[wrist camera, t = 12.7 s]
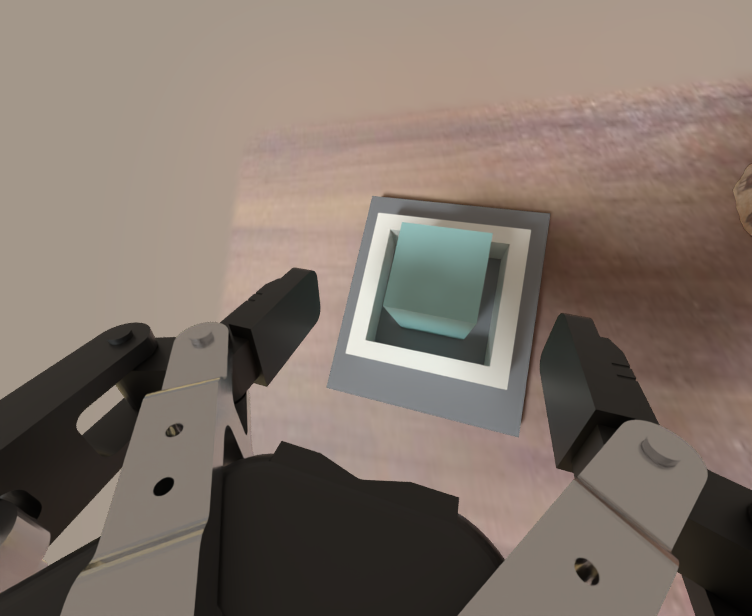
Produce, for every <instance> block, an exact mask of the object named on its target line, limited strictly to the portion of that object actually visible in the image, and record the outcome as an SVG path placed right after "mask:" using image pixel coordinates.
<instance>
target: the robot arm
mask: <svg viewBox="0 0 752 616" xmlns="http://www.w3.org/2000/svg"><path fill="white" fill-rule="evenodd" d="M319 315H320V299H319V290H318V280H317V275H316V273H315V271H312V270H306V269H300V268H292V269H291V270H290V271H289V272H287V273H286V274H285V275H284V276H283V277H282V278H281V279H276V280H274V281H272V282H270V283H268V284H265V285H264V286H263V287H262V288H261V289H259V290H258V291H257V292H256V294H254V295H252V296H251V297H250V298H249V299H248V301H247V300H246V301H245V302H244V303H243V304H242V305H240V306H239V307H238V308H237V309H236V310H234V311H233V312H232V313H231V314H230V315H229V316H227V317H226V318H225V319H224V320H223V321H221V322H220V323H218V322H206V323H201V324H197V325H194V326H192V327H190V328H188V329H186V330H184V331H183V332H182V333H180V334H179V335H178V336H177V337H167V338H166V337H164V338H155V336H154V335H153V333H152V331H151V329H150V327H149V326H148V325H146V324H143V323H128V324H124V325H119V326H116V327H114V328H111V329H109V330H107V331H105V332H103V333H102V334H100V335H99V336H97V337H96V338H94V339H93V340H91V341H89V342H88V343H86V344H85V345H84V346H82V347H80V348H79V349H77V350H76V351H74V352H73V353H71V354H70V355H68V356H67V357H65V358H64V359H62V360H60V361H59V362H57V363H56V364H55V365H53V366H51V367H50V368H48V369H47V370H45V371H44V372H42V373H41V374H39V375H38V376H36V377H35V378H33V379H31V380H30V381H28V382H27V383H25V384H24V385H22V386H21V387H19V388H18V389H16V390H15V391H13V392H12V393H10V394H9V395H7V396H5V397H4V398H3V399H1V400H0V616H657V614H658V612H659V610H660V608H661V606H662V604H663V602H664V599H665V597H666V595H667V593H668V591H669V589H670V587H671V584H672V582H673V580H674V578H675V576H676V573H677V572H678V573H680V574H682V577H683V580H684V583H685V586H686V589H687V592H688V595H689V598H690V601H691V604H692V607H693V610H694V613H695V616H752V490H750V489H748V488H746V487H744V486H741V485H739V484H737V483H735V482H733V481H731V480H728V479H726V478H724V477H722V476H720V475H718V474H715V473H713V472H711V471H710V470H708V469H707V468H706V465H705V463H704V462H703V460H702V458H701V457H700V455H699V454H698V453H697V452H696V451H695V450H694V448H693V447H692V446H690V445H689V444H688V443H687V442H686V441H685V440H683V439H682V438H681V437H679V436H678V435H676V434H675V433H673V432H672V431H670V430H668V429H666V428H664V427H662V426H660V425H659V423H658V421H657V419H656V417H655V415H654V413H653V411H652V409H651V407H650V405H649V403H648V401H647V399H646V397H645V395H644V393H643V391H642V389H641V387H640V385H639V383H638V381H636V377H635V375H634V373H633V371H632V369H630V365H629V363H628V361H627V359H626V357H625V355H624V353H623V352H622V351H621V350H620V349H619V348H618V347H617V346H616V345H615V344H614V343H613V342H612V341H611V340H610V339H608V338H603V337H600V336H599V334H598V331H597V329H596V327H595V325H594V322H593V320H592V319H591V318H588V317H582V316H576V315H570V314H564V313H561V314H560V315H559V316H558V318H557V320H556V322H555V324H554V326H553V329H552V331H551V333H550V336H549V338H548V340H547V342H546V345H545V347H544V349H543V352H542V355H541V359H540V375H541V381H542V387H543V393H544V399H545V404H546V410H547V416H548V422H549V428H550V434H551V440H552V446H553V452H554V457H555V463H556V468H558V469H561V470H565V471H568V472H572V473H574V477H575V479H574V480H573V481H572V482H571V483H570V484H569V486H568V487H567V488H566V489H565V490H564V491H563V493H562V494H561V495H560V496H559V497H558V498H557V500H556V501H555V502H554V503H553V504H552V506H551V507H550V508H549V509H548V510H547V511H546V513H545V514H544V515H543V516H542V517H541V518H540V520H539V521H538V522H537V523H536V524H535V525H534V527H533V528H532V529H531V530H530V531H529V532H528V534H527V535H526V536H525V537H524V538H523V539H522V541H521V542H520V543H519V544H518V545H517V547H516V548H515V549H514V550H513V551H512V552H511V554H510V555H509V556H508V557H507V558H506V559H504V558H503V556H502V555H501V554H500V552H499V551H498V550H497V548H496V547H495V546H494V545H493V544H492V542H491V541H490V540H489V539H488V538H487V537H486V536H485V535H484V534H483V533H482V532H481V531H480V530H479V529H478V528H477V527H476V526H475V525H473V524H472V523H471V522H470V521H469V520H467V519H466V518H464V517H463V516H461V515H460V514H458V504H459V497H455V496H452V495H449V494H446V493H443V492H440V491H437V490H434V489H430V488H427V487H424V486H421V485H418V484H415V483H412V482H397V481H376V480H362V479H359V478H357V477H355V476H353V475H352V474H350V473H349V472H348V471H346V470H345V469H343V468H342V467H340V466H339V465H337V464H336V463H334V462H333V461H331V460H330V459H328V458H327V457H325V456H324V455H322V454H321V453H318V452H315V451H312V450H309V449H305V448H302V447H299V446H296V445H293V444H290V443H287V442H284V441H281V443H280V444H279V446H278V448H277V449H276V451H275V453H274V454H262V455H256V456H254V454H253V449H252V437H251V410H250V393H249V390H248V389H249V388H250V386H251V385H252V384H253V383H255V384H259V385H263V386H266V387H267V386H268V385H269V384H270V382H271V381H272V380H273V378H274V377H275V376H276V375H277V373H278V372H279V371H280V369H281V368H282V367H283V365H284V364H285V363H286V362H287V360H288V359H289V358H290V356H291V355H292V354H293V352H294V351H295V350H296V349H297V347H298V346H299V345H300V343H301V342H302V341H303V339H304V338H305V337H306V336H307V334H308V333H309V332H310V330H311V329H312V328H313V327H314V325H315V324H316V322H317V321H318V318H319ZM114 385H116V386H117V387H118V389H119V391H120V392H121V393H122V395H123V396H124V399H122V401H120V402H119V403H118V404H117V405H116V406H115V407H113V408H112V409H111V410H110V411H109V412H108V413H107V414H106V415H104V416H103V417H102V418H101V419H100V420H99V421H98V422H96V423H95V424H94V425H93V426H92V427H91V428H90V429H89V430H87V431H86V432H85V433H84V434H83V435H81V434H80V433H79V432H78V430H77V428H76V423H77V420H78V417H79V416H80V414H81V413H82V412H83V411H84V410H85V409H86V408H87V407H89V405H91V404H92V403H93V402H94V401H96V400H97V399H98V398H99V397H101V396H102V395H103V394H104V393H106V392H107V391H108V390H109V389H110V388H112V387H113V386H114ZM121 468H122V469H121ZM120 469H121V473H120V476H119V479H118V482H117V485H116V489H115V492H114V495H113V498H112V502H111V505H110V508H109V511H108V515H107V518H106V521H105V524H104V528H103V531H102V534H101V536H100V537H99V538H97V539H95V540H93V541H91V542H90V543H88V544H86V545H84V546H83V547H81V548H79V549H77V550H76V551H74V552H72V553H70V554H69V555H67V556H65V557H63V558H61V559H60V560H58V561H56V562H54V563H53V564H51V565H49V566H48V564H47V562H46V561H45V560H43V557H44V555H45V553H46V551H47V549H48V547H49V545H51V543H52V542H53V541H54V540H55V539H56V538H57V537H58V536H59V535H60V534H61V533H62V532H63V530H64V529H65V528H66V527H67V526H68V525H69V524H70V523H71V522H72V521H73V520H74V519H75V518H76V516H77V515H78V514H79V513H80V512H81V511H82V510H83V509H84V508H85V507H86V506H87V505H88V504H89V502H90V501H91V500H92V499H93V498H94V497H95V496H96V495H97V494H98V493H99V492H100V491H101V489H102V488H103V487H104V486H105V485H106V484H107V483H108V482H109V481H110V480H111V479H112V478H113V477H114V475H115V474H116V473H117V472H118V471H119V470H120Z"/></svg>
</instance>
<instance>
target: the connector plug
mask: <svg viewBox="0 0 752 616" xmlns="http://www.w3.org/2000/svg"><path fill="white" fill-rule="evenodd" d="M492 235H493V233H486V232H478V231H470V230H462V229H454V228H446V227H438V226H430V225H422V224H414V223H406V222H402V224H401V229H400V233H399V237H398V242H397V246H396V250H395V255H394V259H393V263H392V268H391V272H390V277H389V281H388V285H387V290H386V294H385V298H384V303H383V307H384V308H385V309H386V310H387V311H388V312H389V314H390V315H391V316H392V317H393V318H394V319H395V321H396V322H397V323H398V324H399V325H400V326H401V327H402V328H407V329H412V330H417V331H422V332H427V333H431V334H436V335H441V336H446V337H451V338H456V339H461V340H464V339H465V337H466V336H467V335H468V334H469V332H470V331H471V330H472V329H473V328H474V326H475V325H476V324H477V318H478V313H479V307H480V302H481V296H482V291H483V285H484V280H485V274H486V268H487V263H488V257H489V252H490V246H491V241H492Z"/></svg>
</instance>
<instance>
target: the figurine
mask: <svg viewBox="0 0 752 616" xmlns="http://www.w3.org/2000/svg"><path fill="white" fill-rule="evenodd" d="M733 193H734V196H735V200H736V209H737V211H738V213H739V216H740V221H741V223H742V225H743V228H744V229H745V230H746V231H747V232H748V233H749V234H750V235H751V236H752V164H751V165H749V166H748V167H747V168H746V169H745V171H744V174H743V176H742V177H741V179H740V180H739V181H738V182H737V183H736V185H735V187H734V189H733Z"/></svg>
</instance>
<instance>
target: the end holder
mask: <svg viewBox="0 0 752 616" xmlns="http://www.w3.org/2000/svg"><path fill="white" fill-rule="evenodd" d="M549 220H550V214H549V213H539V212H529V211H519V210H508V209H498V208H488V207H478V206H468V205H458V204H448V203H438V202H428V201H418V200H408V199H398V198H388V197H378V196H372V200H371V204H370V208H369V212H368V217H367V221H366V225H365V229H364V233H363V238H362V242H361V246H360V250H359V254H358V258H357V263H356V267H355V271H354V275H353V279H352V283H351V288H350V292H349V296H348V300H347V304H346V308H345V313H344V317H343V321H342V325H341V329H340V333H339V338H338V342H337V346H336V350H335V354H334V358H333V363H332V367H331V371H330V375H329V379H328V383H327V388H329V389H333V390H337V391H341V392H345V393H349V394H353V395H356V396H360V397H364V398H368V399H372V400H376V401H380V402H384V403H387V404H391V405H395V406H399V407H403V408H407V409H411V410H414V411H418V412H422V413H426V414H430V415H434V416H438V417H442V418H445V419H449V420H453V421H457V422H461V423H465V424H469V425H472V426H476V427H480V428H484V429H488V430H492V431H496V432H500V433H503V434H507V435H511V436H515V437H519V431H520V424H521V417H522V410H523V403H524V396H525V389H526V382H527V375H528V368H529V361H530V354H531V347H532V340H533V333H534V326H535V319H536V312H537V305H538V298H539V291H540V284H541V277H542V269H543V262H544V255H545V248H546V241H547V234H548V227H549ZM402 222H406V223H414V224H422V225H430V226H438V227H446V228H454V229H462V230H470V231H478V232H486V233H493V235H492V241H491V246H490V252H489V257H488V263H487V268H486V274H485V280H484V285H483V291H482V296H481V302H480V307H479V313H478V318H477V324H476V325H475V326H474V328H473V329H472V330H471V331H470V332H469V334H468V335H467V336H466V337H465V339H464V340H461V339H456V338H451V337H446V336H441V335H436V334H431V333H427V332H422V331H417V330H412V329H407V328H402V327H401V326H400V325H399V324H398V323H397V322H396V321H395V319H394V318H393V317H392V316H391V315H390V314H389V312H388V311H387V310H386V309H385V308H384V307H383V303H384V298H385V294H386V290H387V285H388V281H389V277H390V272H391V268H392V263H393V259H394V255H395V250H396V246H397V242H398V237H399V233H400V229H401V224H402Z"/></svg>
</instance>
